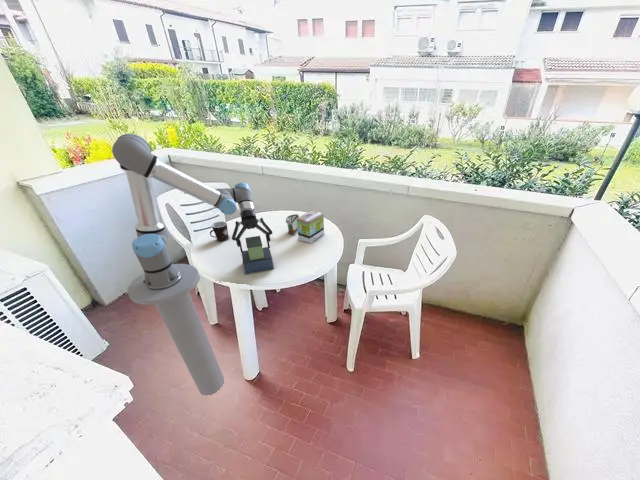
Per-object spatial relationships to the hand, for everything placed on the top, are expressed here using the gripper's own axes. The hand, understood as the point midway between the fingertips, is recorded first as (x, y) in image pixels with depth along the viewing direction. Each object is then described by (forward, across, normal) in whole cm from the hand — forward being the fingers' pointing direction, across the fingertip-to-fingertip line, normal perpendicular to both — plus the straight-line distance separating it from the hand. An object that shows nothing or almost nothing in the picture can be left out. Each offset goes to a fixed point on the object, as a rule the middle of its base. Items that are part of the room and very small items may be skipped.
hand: (255, 249), depth 146 cm
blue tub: (+7, 0, -8) cm, 11 cm away
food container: (-17, -25, -32) cm, 44 cm away
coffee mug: (-20, +19, -35) cm, 45 cm away
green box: (+2, 0, -3) cm, 4 cm away
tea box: (-9, -35, -24) cm, 43 cm away
